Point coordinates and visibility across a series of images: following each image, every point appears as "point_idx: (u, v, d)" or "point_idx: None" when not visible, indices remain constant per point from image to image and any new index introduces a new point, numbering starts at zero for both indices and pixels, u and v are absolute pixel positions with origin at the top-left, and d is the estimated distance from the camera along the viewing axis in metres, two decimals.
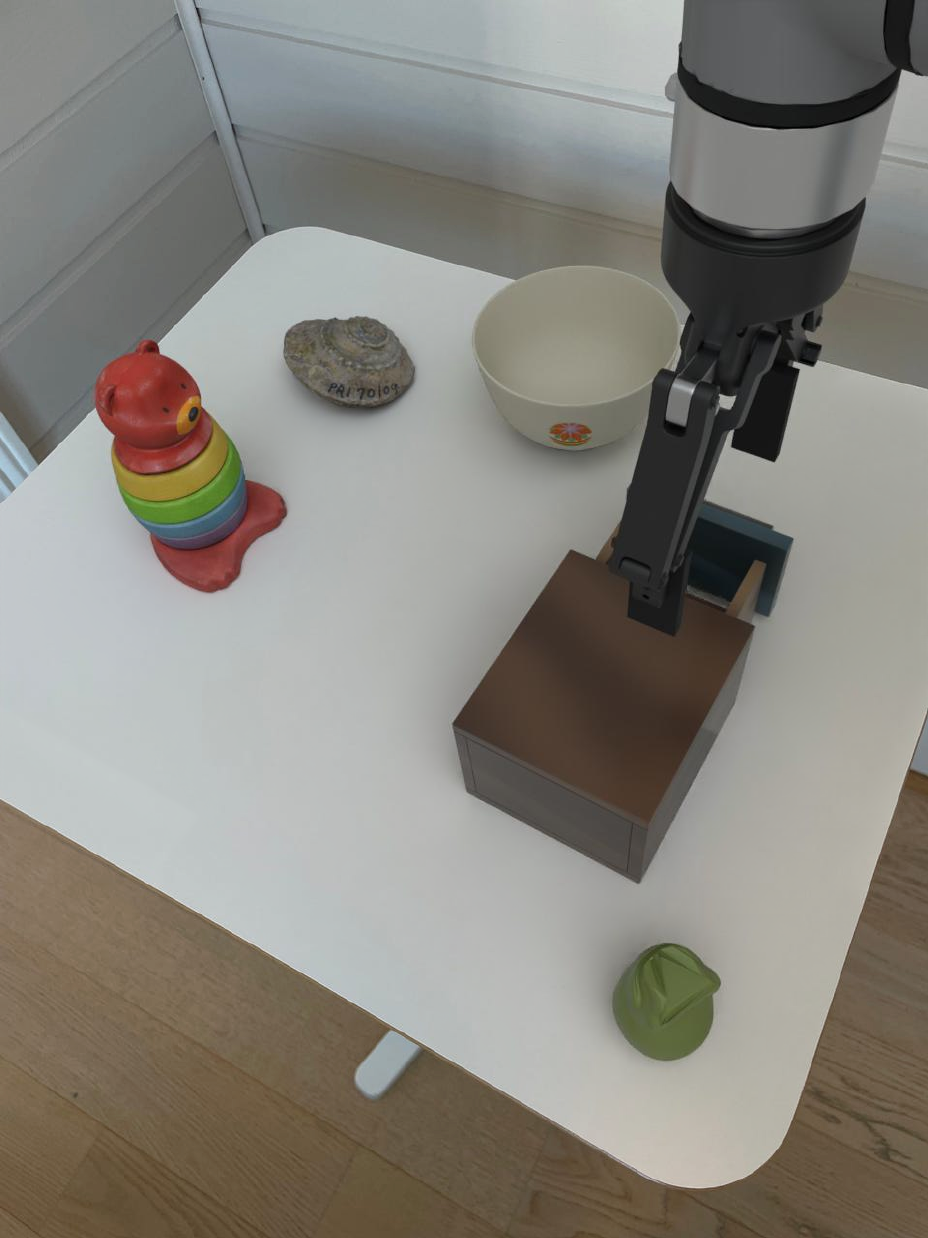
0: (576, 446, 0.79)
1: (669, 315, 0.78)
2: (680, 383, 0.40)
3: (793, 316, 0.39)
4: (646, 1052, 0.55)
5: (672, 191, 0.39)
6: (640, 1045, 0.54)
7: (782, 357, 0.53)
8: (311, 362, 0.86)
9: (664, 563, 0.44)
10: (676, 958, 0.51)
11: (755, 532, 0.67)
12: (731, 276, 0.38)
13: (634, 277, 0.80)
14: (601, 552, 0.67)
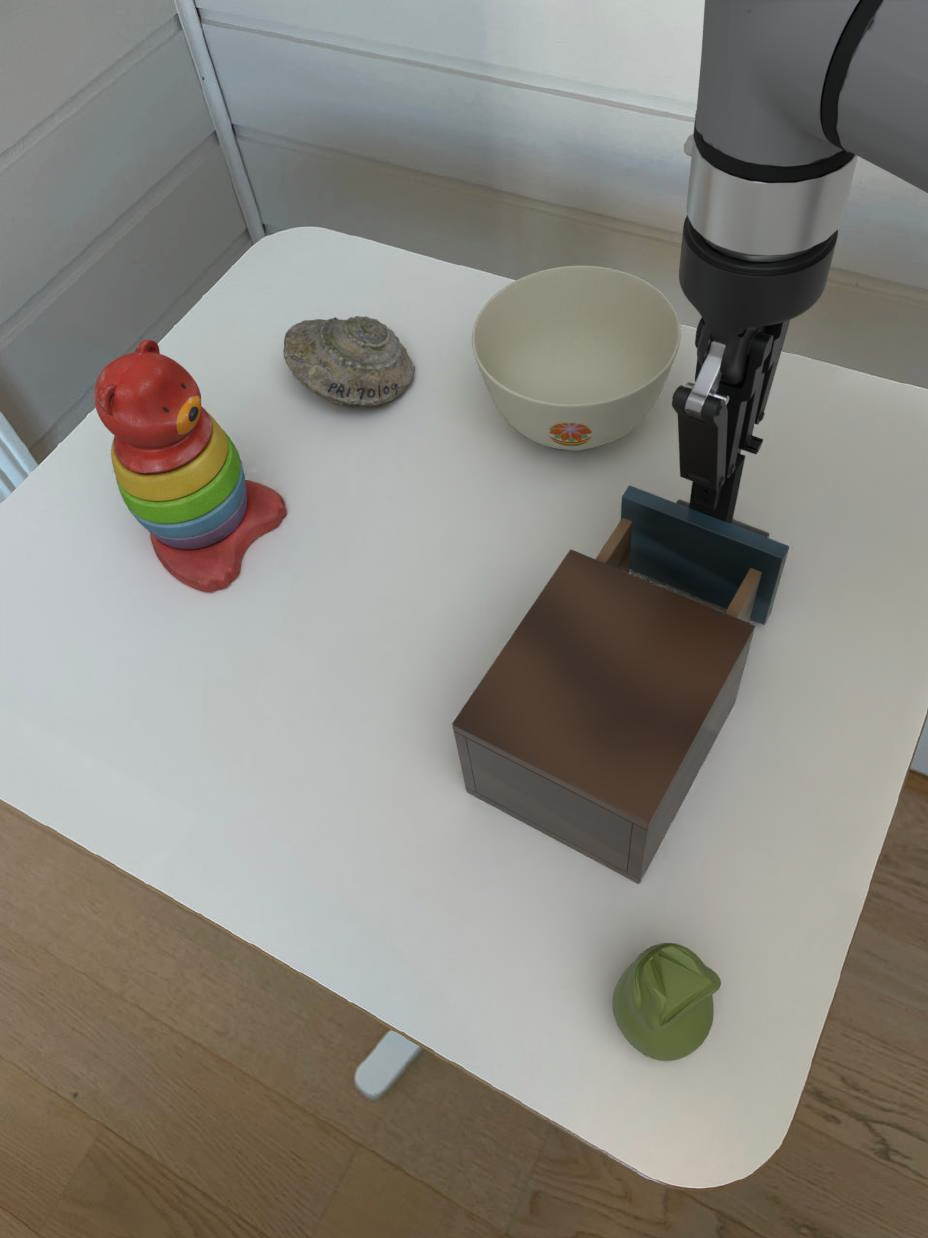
0: (576, 446, 0.79)
1: (669, 315, 0.78)
2: (691, 404, 0.53)
3: (781, 321, 0.51)
4: (646, 1052, 0.55)
5: (688, 224, 0.51)
6: (640, 1045, 0.54)
7: None
8: (311, 362, 0.86)
9: (716, 479, 0.60)
10: (676, 958, 0.51)
11: (750, 540, 0.66)
12: (733, 290, 0.49)
13: (634, 277, 0.80)
14: None
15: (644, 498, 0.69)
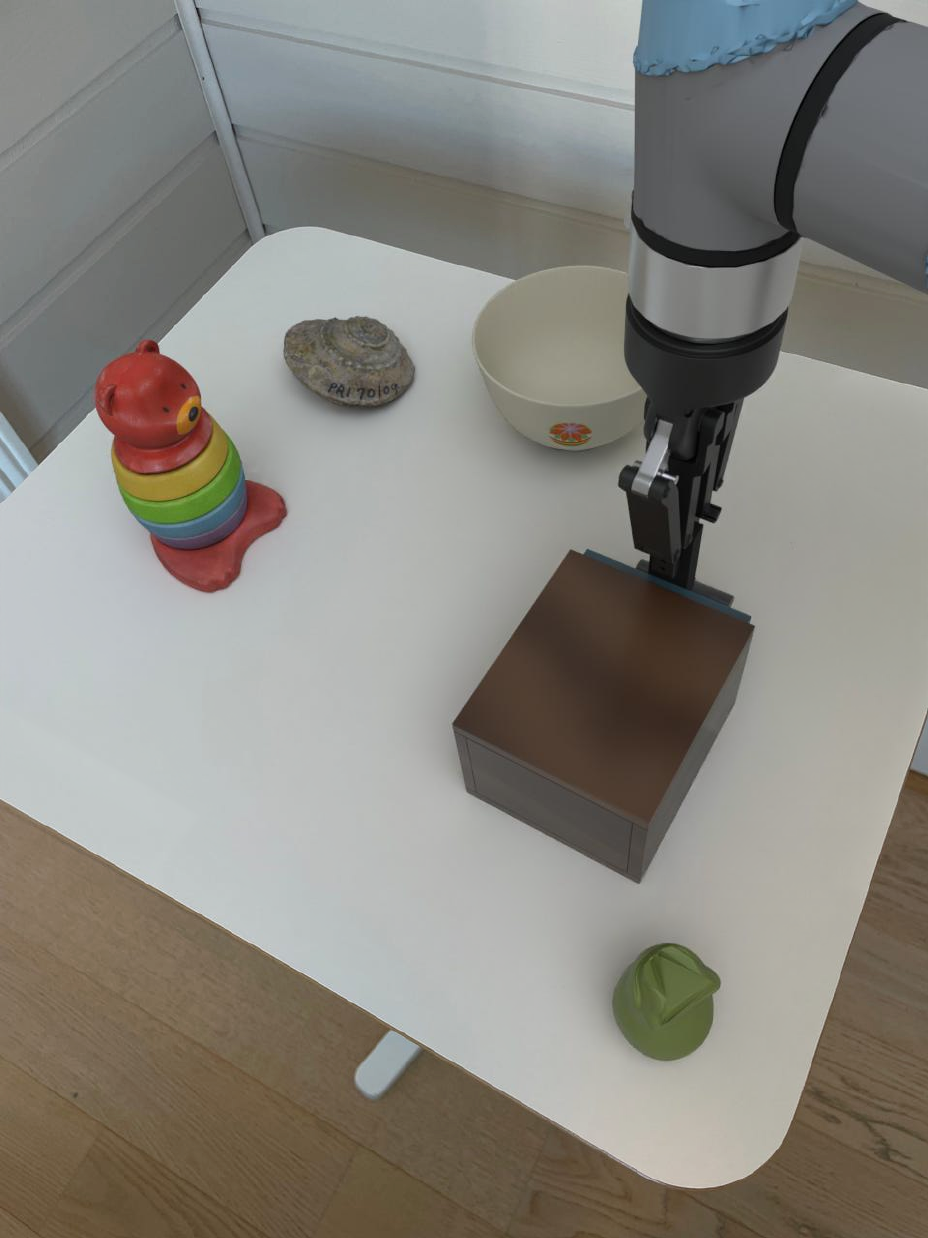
0: (576, 446, 0.79)
1: None
2: (637, 485, 0.50)
3: (730, 402, 0.48)
4: (646, 1052, 0.55)
5: (631, 299, 0.48)
6: (640, 1045, 0.54)
7: None
8: (311, 362, 0.86)
9: (671, 554, 0.57)
10: (676, 958, 0.51)
11: None
12: (677, 372, 0.47)
13: None
14: None
15: None
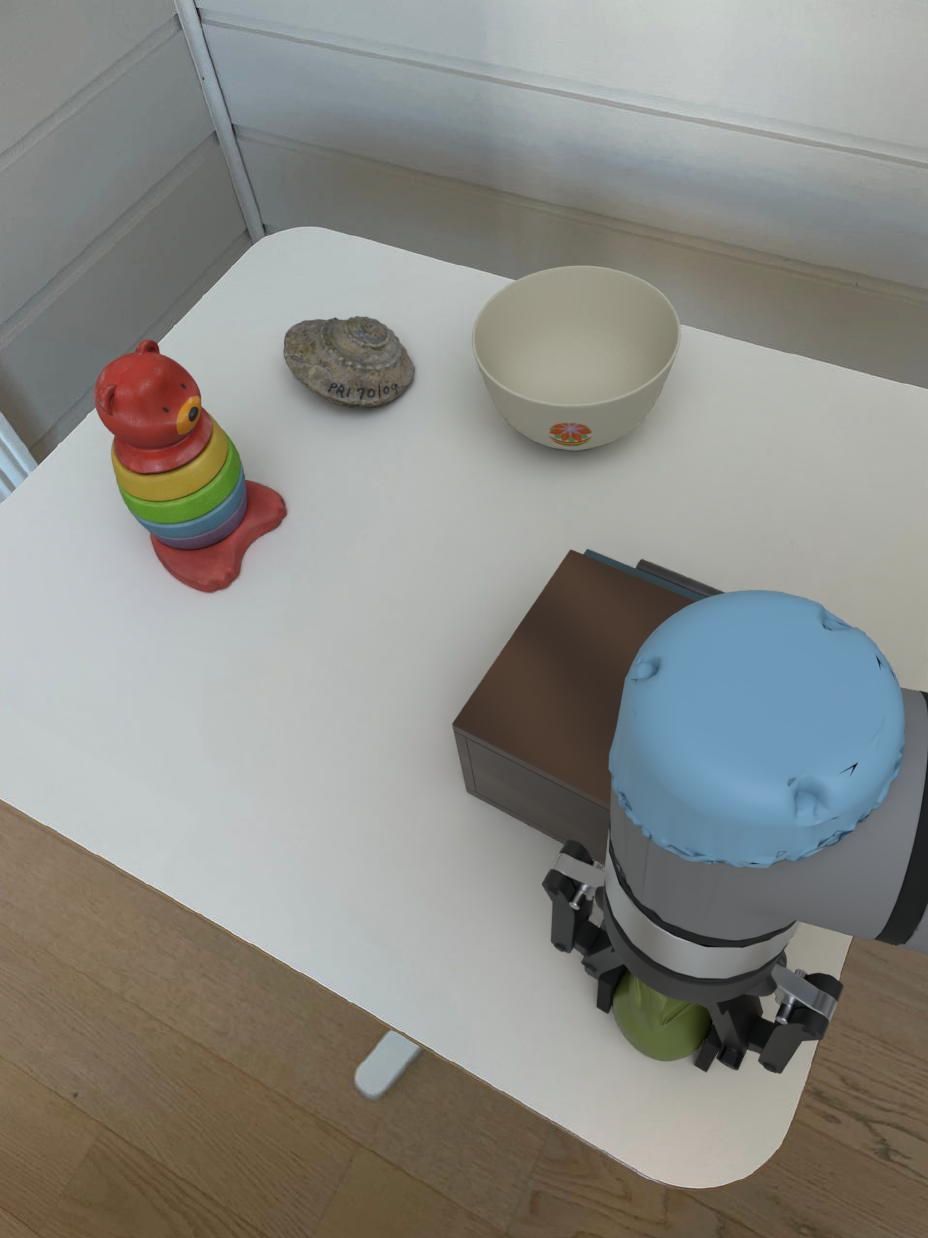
0: (576, 446, 0.79)
1: (669, 315, 0.78)
2: (559, 858, 0.47)
3: (609, 936, 0.42)
4: (646, 1052, 0.55)
5: None
6: (640, 1045, 0.54)
7: None
8: (311, 362, 0.86)
9: (552, 935, 0.53)
10: None
11: None
12: None
13: (634, 277, 0.80)
14: None
15: None
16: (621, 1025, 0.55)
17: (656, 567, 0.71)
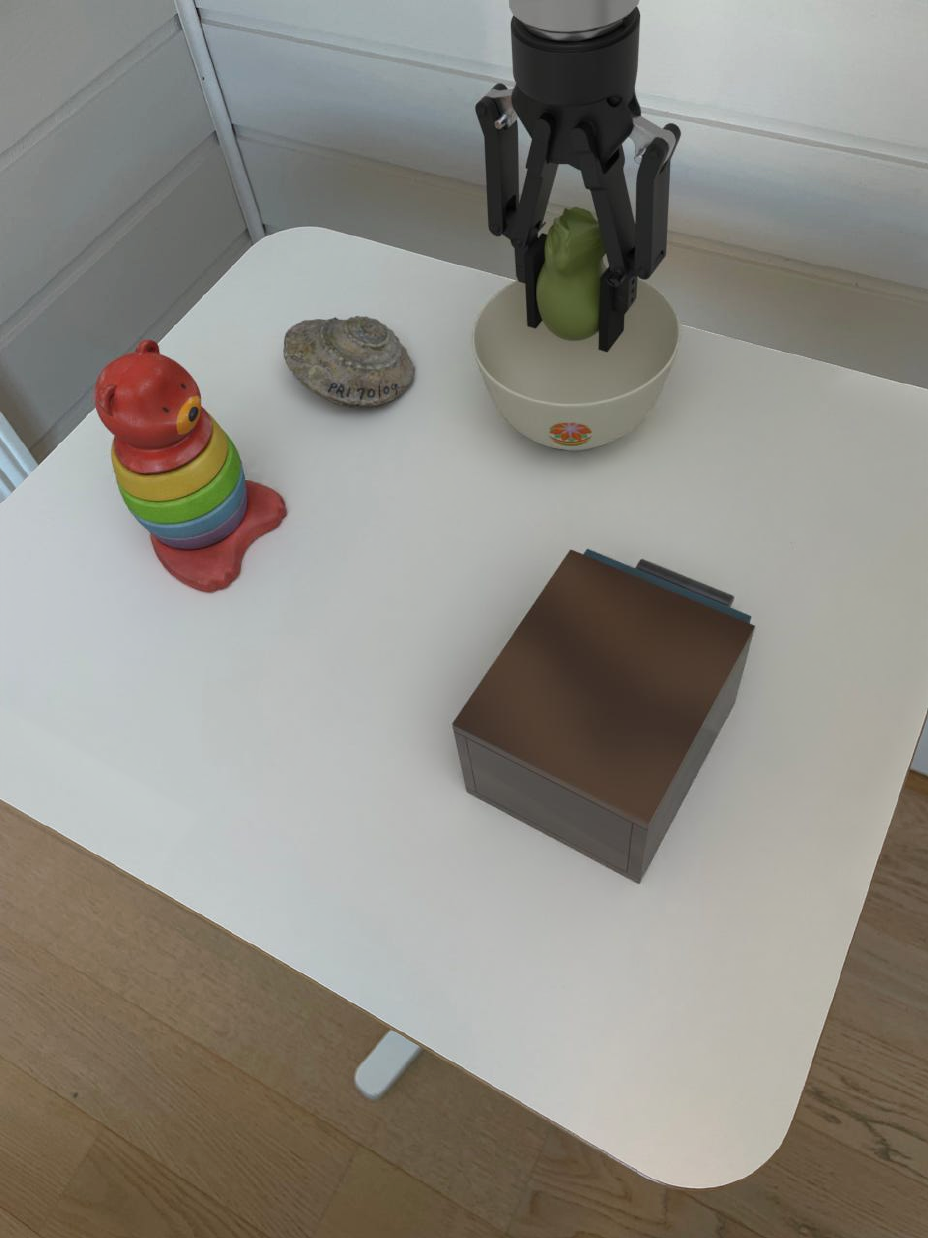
0: (576, 446, 0.79)
1: (669, 315, 0.78)
2: (488, 92, 0.66)
3: (516, 84, 0.61)
4: (560, 319, 0.73)
5: None
6: (555, 311, 0.73)
7: None
8: (311, 362, 0.86)
9: (488, 213, 0.71)
10: (578, 213, 0.70)
11: None
12: None
13: None
14: None
15: None
16: (541, 299, 0.73)
17: (656, 567, 0.71)
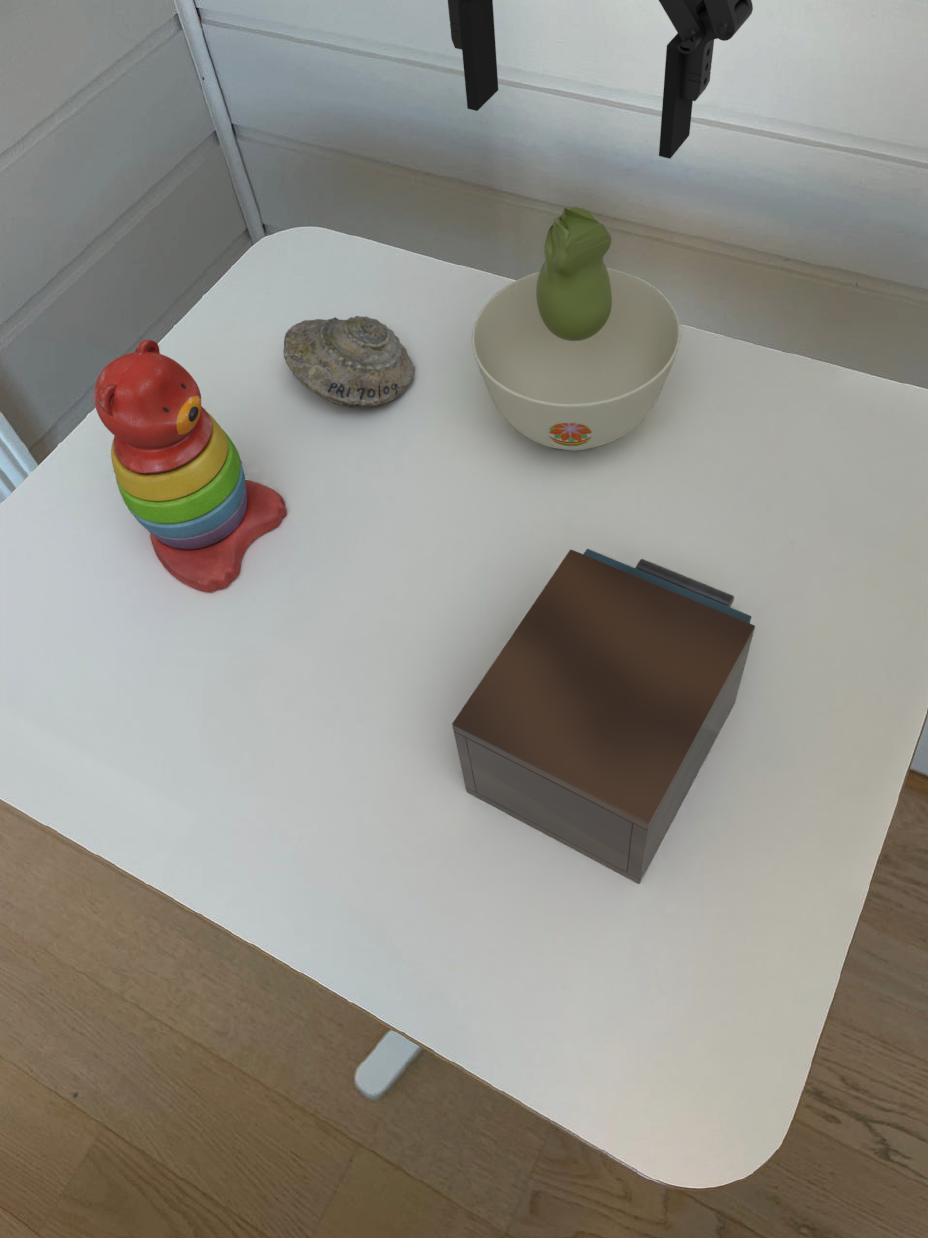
0: (576, 446, 0.79)
1: (669, 315, 0.78)
2: None
3: None
4: (560, 319, 0.73)
5: None
6: (555, 311, 0.73)
7: None
8: (311, 362, 0.86)
9: None
10: (577, 213, 0.70)
11: None
12: None
13: (634, 277, 0.80)
14: None
15: None
16: (541, 299, 0.73)
17: (656, 567, 0.71)
